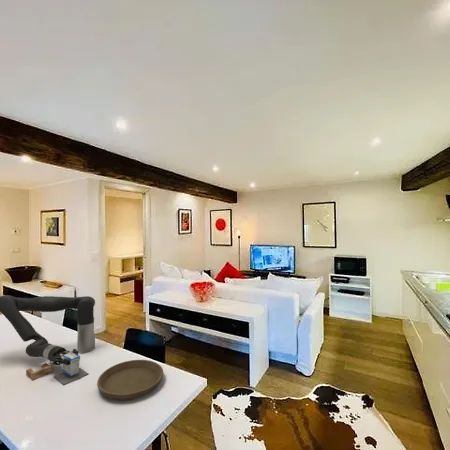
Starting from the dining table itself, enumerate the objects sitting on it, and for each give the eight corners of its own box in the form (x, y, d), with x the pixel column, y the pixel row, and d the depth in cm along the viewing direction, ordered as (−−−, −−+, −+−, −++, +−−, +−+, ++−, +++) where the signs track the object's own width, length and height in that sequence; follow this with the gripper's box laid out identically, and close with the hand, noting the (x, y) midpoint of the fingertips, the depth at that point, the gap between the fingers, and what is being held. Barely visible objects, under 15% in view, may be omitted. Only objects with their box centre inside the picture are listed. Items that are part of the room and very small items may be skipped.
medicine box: (61, 371, 136) (62, 355, 136) (70, 368, 139) (71, 351, 140) (70, 376, 132) (71, 359, 132) (79, 372, 136) (80, 355, 136)
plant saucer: (175, 377, 135) (175, 369, 135) (126, 413, 108) (126, 402, 109) (135, 362, 151) (135, 354, 151) (83, 390, 124) (83, 380, 124)
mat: (77, 367, 144) (77, 366, 144) (88, 374, 137) (88, 373, 137) (53, 377, 134) (53, 376, 134) (63, 385, 127) (63, 384, 127)
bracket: (46, 367, 144) (46, 361, 144) (52, 372, 139) (52, 365, 139) (26, 374, 136) (26, 368, 136) (32, 380, 131) (32, 373, 131)
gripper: (40, 351, 136) (61, 359, 128) (67, 341, 149) (87, 347, 141) (40, 366, 136) (60, 374, 128) (67, 354, 148) (87, 361, 141)
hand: (74, 360), depth 135 cm, fingers closed on medicine box, 4 cm apart
